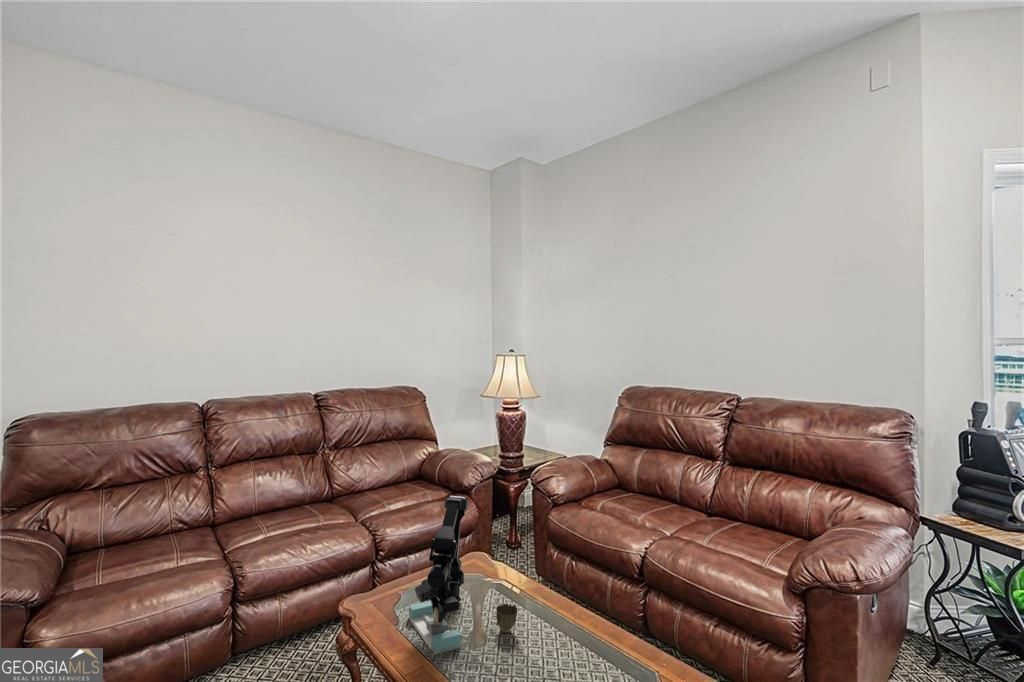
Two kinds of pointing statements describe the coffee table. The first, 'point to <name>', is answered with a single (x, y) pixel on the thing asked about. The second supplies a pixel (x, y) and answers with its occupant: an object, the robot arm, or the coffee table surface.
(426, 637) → the rail track
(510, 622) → the cup
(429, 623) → the carriage
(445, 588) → the robot arm
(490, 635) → the coffee table surface
